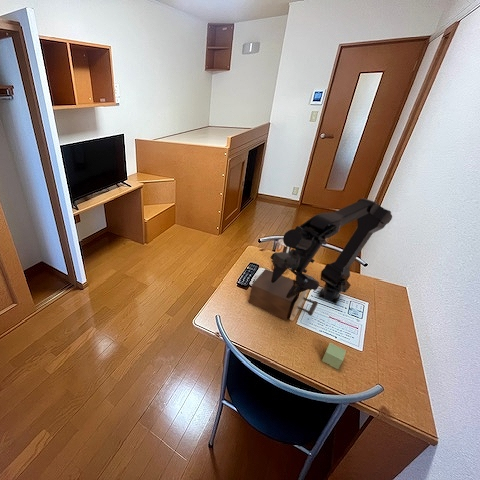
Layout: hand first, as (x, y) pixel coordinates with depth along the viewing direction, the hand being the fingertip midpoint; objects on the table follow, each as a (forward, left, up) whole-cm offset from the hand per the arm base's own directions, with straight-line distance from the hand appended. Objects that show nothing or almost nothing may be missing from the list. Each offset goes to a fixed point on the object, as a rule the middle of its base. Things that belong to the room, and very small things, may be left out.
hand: (279, 289), depth 90 cm
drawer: (-8, +2, -13) cm, 16 cm away
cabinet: (-8, -3, -14) cm, 17 cm away
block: (+5, +21, -14) cm, 26 cm away
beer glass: (-31, -9, -14) cm, 36 cm away
